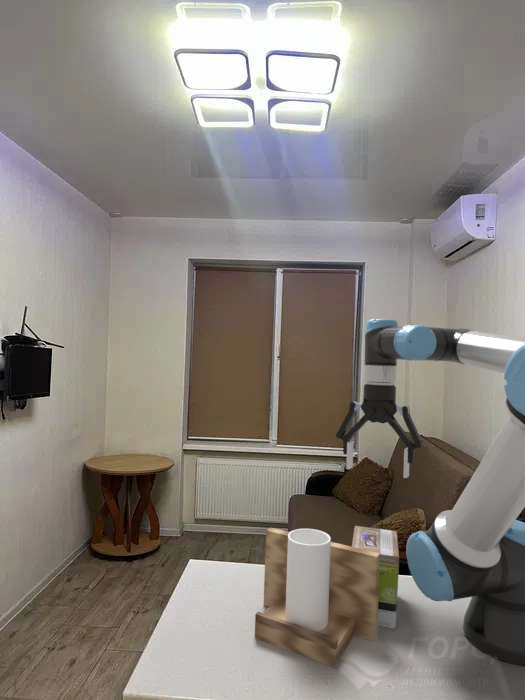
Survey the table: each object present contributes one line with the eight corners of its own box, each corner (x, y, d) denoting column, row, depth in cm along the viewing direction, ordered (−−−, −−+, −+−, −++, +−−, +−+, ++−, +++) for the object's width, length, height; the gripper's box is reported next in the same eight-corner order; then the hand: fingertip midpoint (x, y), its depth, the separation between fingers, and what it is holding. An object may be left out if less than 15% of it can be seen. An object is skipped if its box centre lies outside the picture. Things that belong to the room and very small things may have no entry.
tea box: (397, 630, 91) (400, 555, 92) (346, 621, 94) (348, 548, 94) (395, 593, 106) (397, 529, 106) (351, 586, 109) (353, 523, 109)
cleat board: (377, 636, 89) (379, 553, 90) (357, 675, 78) (360, 580, 78) (267, 601, 101) (270, 527, 101) (236, 631, 89) (239, 548, 90)
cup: (330, 612, 92) (333, 531, 92) (324, 636, 84) (327, 547, 84) (290, 605, 94) (292, 526, 94) (280, 627, 86) (283, 541, 86)
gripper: (437, 386, 108) (434, 477, 107) (335, 380, 120) (332, 462, 119) (432, 387, 101) (429, 484, 101) (325, 381, 113) (322, 467, 113)
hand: (377, 472), depth 110 cm, fingers open, 13 cm apart
